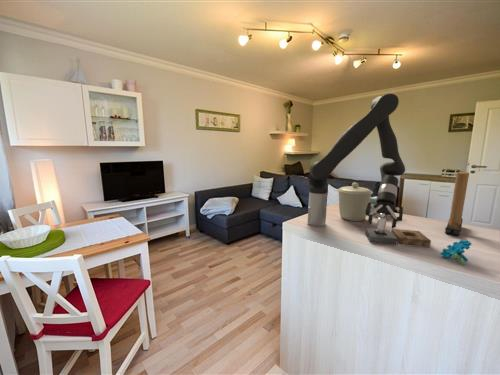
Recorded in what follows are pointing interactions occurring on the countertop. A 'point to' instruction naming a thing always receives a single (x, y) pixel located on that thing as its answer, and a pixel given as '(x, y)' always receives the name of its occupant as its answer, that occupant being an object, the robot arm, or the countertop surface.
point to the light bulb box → (373, 201)
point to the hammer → (457, 204)
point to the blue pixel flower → (457, 250)
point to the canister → (353, 202)
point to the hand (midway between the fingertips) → (381, 225)
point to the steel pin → (381, 224)
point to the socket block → (380, 237)
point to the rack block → (411, 238)
